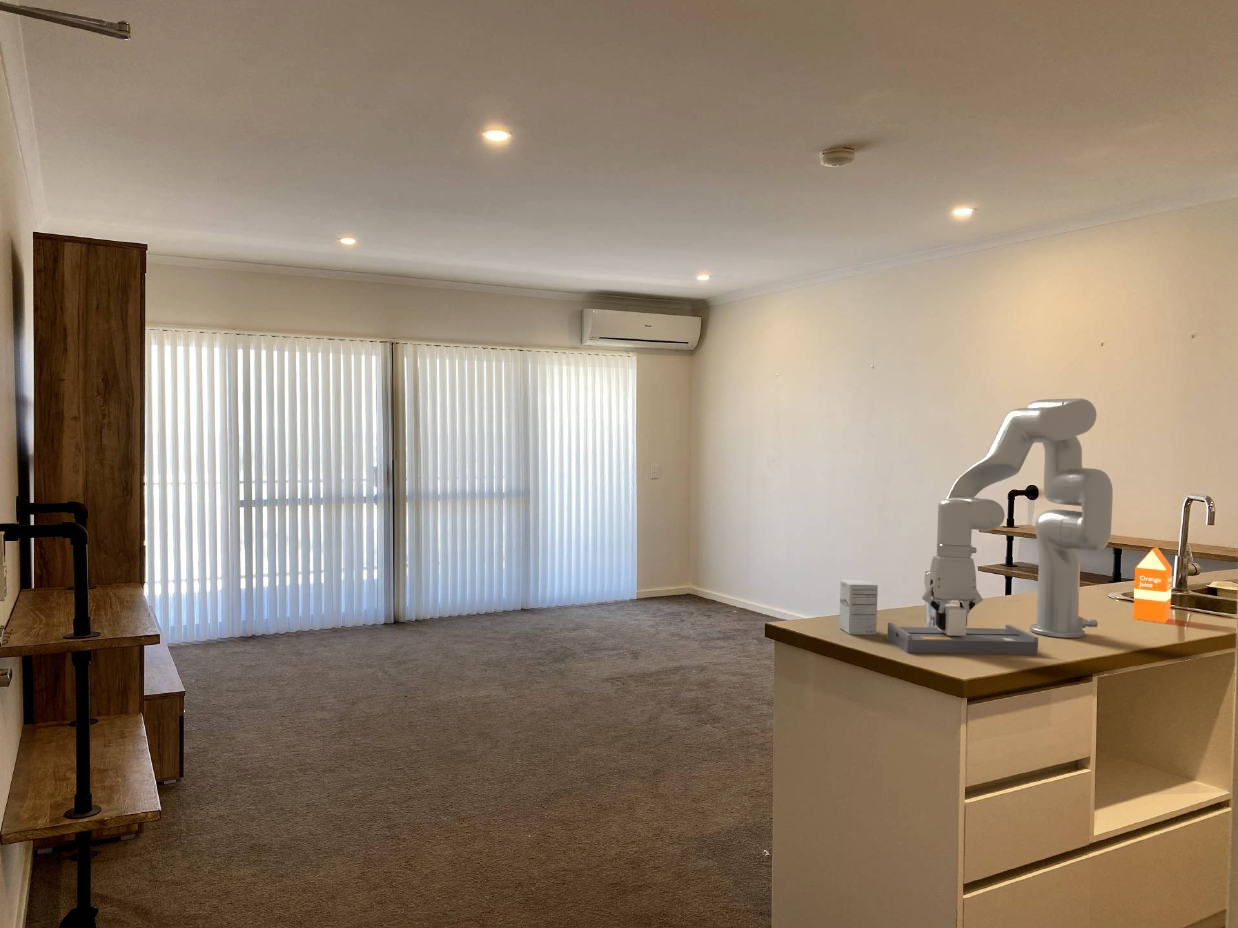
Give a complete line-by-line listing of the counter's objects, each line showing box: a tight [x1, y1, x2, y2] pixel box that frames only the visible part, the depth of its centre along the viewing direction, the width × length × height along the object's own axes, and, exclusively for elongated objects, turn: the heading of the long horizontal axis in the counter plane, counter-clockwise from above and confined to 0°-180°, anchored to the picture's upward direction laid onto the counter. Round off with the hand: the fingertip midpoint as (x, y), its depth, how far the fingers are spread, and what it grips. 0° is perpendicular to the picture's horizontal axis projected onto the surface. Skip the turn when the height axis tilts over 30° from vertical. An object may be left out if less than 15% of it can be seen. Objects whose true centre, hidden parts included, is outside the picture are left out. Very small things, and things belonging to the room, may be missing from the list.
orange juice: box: [1132, 546, 1173, 624], centre depth 246 cm, size 8×9×20 cm
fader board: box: [886, 622, 1039, 656], centre depth 207 cm, size 30×14×4 cm, turn 91°
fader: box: [937, 603, 968, 636], centre depth 207 cm, size 4×7×7 cm, turn 1°
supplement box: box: [838, 579, 879, 636], centre depth 221 cm, size 7×7×13 cm
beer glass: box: [923, 570, 952, 628], centre depth 224 cm, size 7×7×15 cm
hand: (951, 628), depth 207 cm, fingers closed on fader, 4 cm apart
